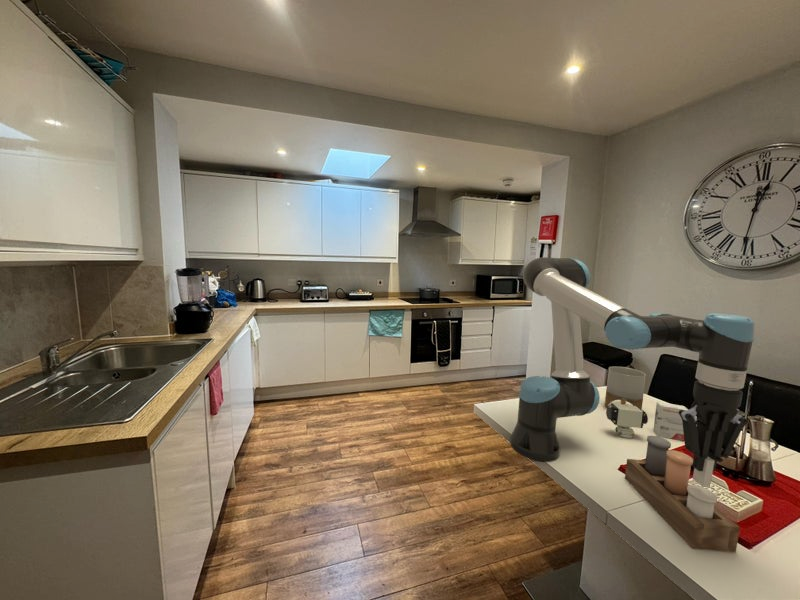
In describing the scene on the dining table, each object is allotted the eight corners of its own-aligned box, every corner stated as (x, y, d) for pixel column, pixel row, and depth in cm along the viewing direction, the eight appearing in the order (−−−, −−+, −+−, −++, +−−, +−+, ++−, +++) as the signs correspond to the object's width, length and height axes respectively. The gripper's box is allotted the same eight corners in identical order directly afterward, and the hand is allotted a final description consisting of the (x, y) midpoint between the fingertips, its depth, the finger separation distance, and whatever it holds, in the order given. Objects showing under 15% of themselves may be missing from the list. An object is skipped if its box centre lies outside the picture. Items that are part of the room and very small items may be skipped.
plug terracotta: (672, 497, 77) (677, 461, 76) (657, 483, 82) (661, 449, 81) (693, 499, 77) (699, 463, 76) (677, 484, 82) (682, 450, 81)
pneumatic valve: (645, 441, 112) (649, 409, 111) (609, 436, 115) (612, 405, 113) (637, 433, 118) (641, 402, 116) (602, 429, 120) (606, 399, 119)
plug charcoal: (651, 478, 84) (655, 445, 83) (638, 466, 89) (642, 434, 88) (671, 479, 84) (675, 446, 83) (657, 467, 89) (661, 436, 88)
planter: (605, 401, 146) (609, 364, 144) (640, 410, 138) (645, 370, 136) (603, 411, 135) (608, 371, 133) (641, 421, 128) (646, 378, 126)
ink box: (681, 435, 117) (685, 405, 116) (686, 442, 113) (690, 410, 111) (652, 430, 121) (656, 400, 119) (656, 436, 116) (660, 405, 115)
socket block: (691, 548, 69) (695, 523, 68) (624, 478, 92) (627, 458, 91) (735, 552, 68) (740, 527, 68) (657, 480, 91) (659, 461, 90)
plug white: (694, 537, 71) (700, 499, 70) (676, 520, 76) (681, 483, 75) (717, 540, 70) (724, 501, 69) (698, 522, 75) (703, 485, 74)
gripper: (701, 389, 66) (684, 492, 69) (768, 393, 65) (748, 497, 68) (673, 376, 73) (659, 469, 76) (733, 380, 72) (716, 474, 75)
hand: (701, 482), depth 72 cm, fingers closed
